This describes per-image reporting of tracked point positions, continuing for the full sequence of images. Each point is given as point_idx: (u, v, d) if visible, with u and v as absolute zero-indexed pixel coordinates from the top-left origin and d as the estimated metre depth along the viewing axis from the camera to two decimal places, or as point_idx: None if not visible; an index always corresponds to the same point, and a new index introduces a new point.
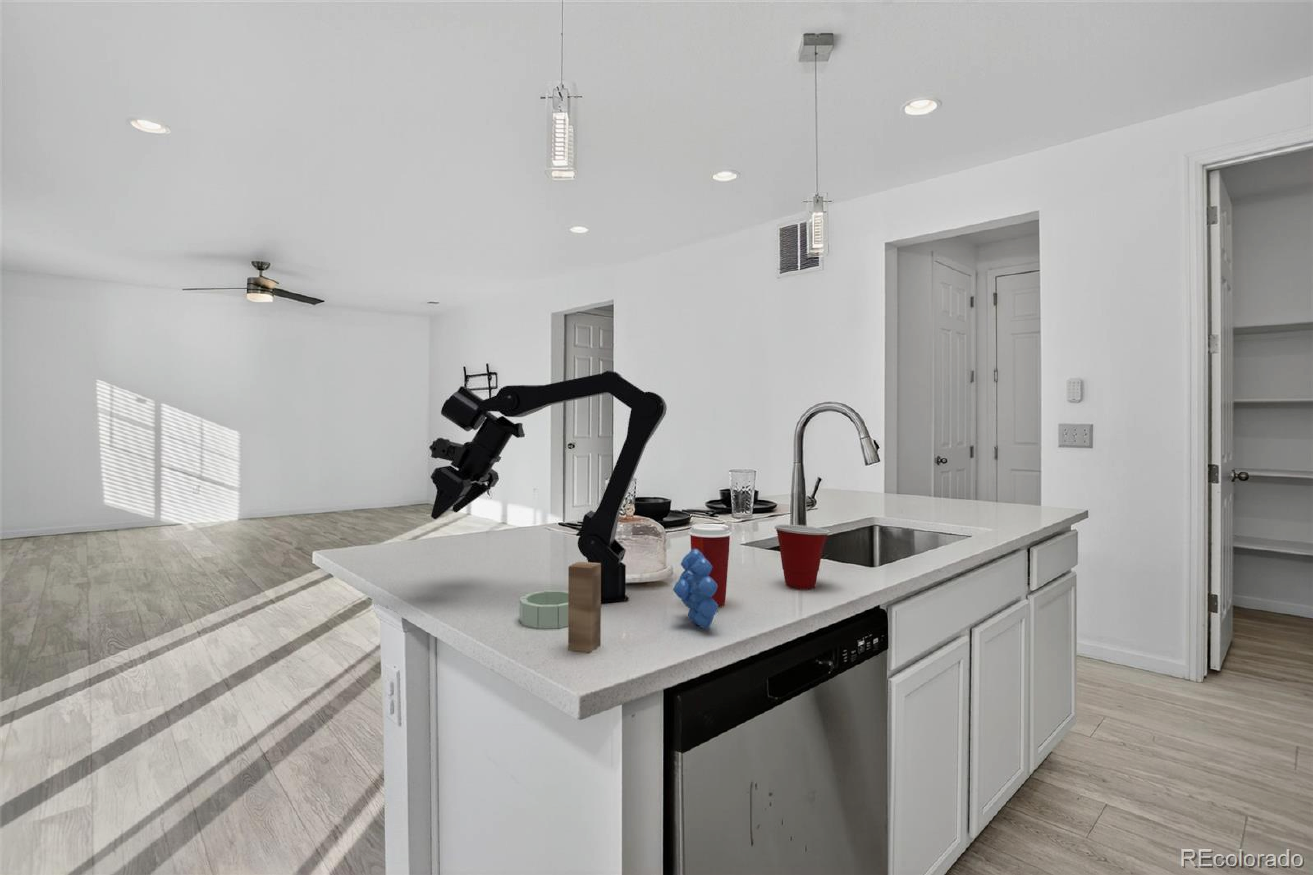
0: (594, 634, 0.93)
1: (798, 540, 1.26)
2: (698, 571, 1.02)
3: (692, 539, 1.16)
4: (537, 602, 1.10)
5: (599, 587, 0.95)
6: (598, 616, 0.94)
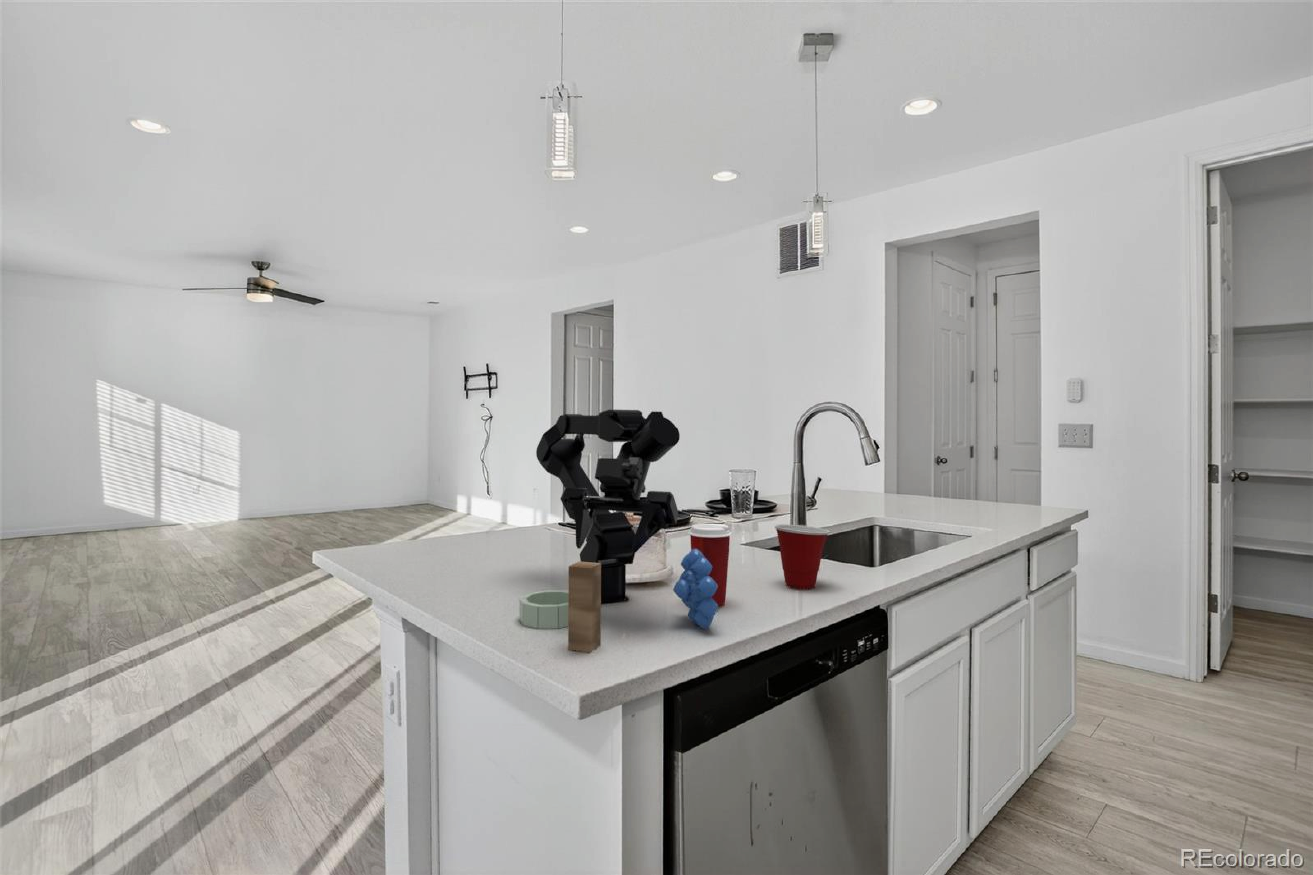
0: (594, 634, 0.93)
1: (798, 540, 1.26)
2: (698, 571, 1.02)
3: (692, 539, 1.16)
4: (537, 602, 1.10)
5: (599, 587, 0.95)
6: (598, 616, 0.94)
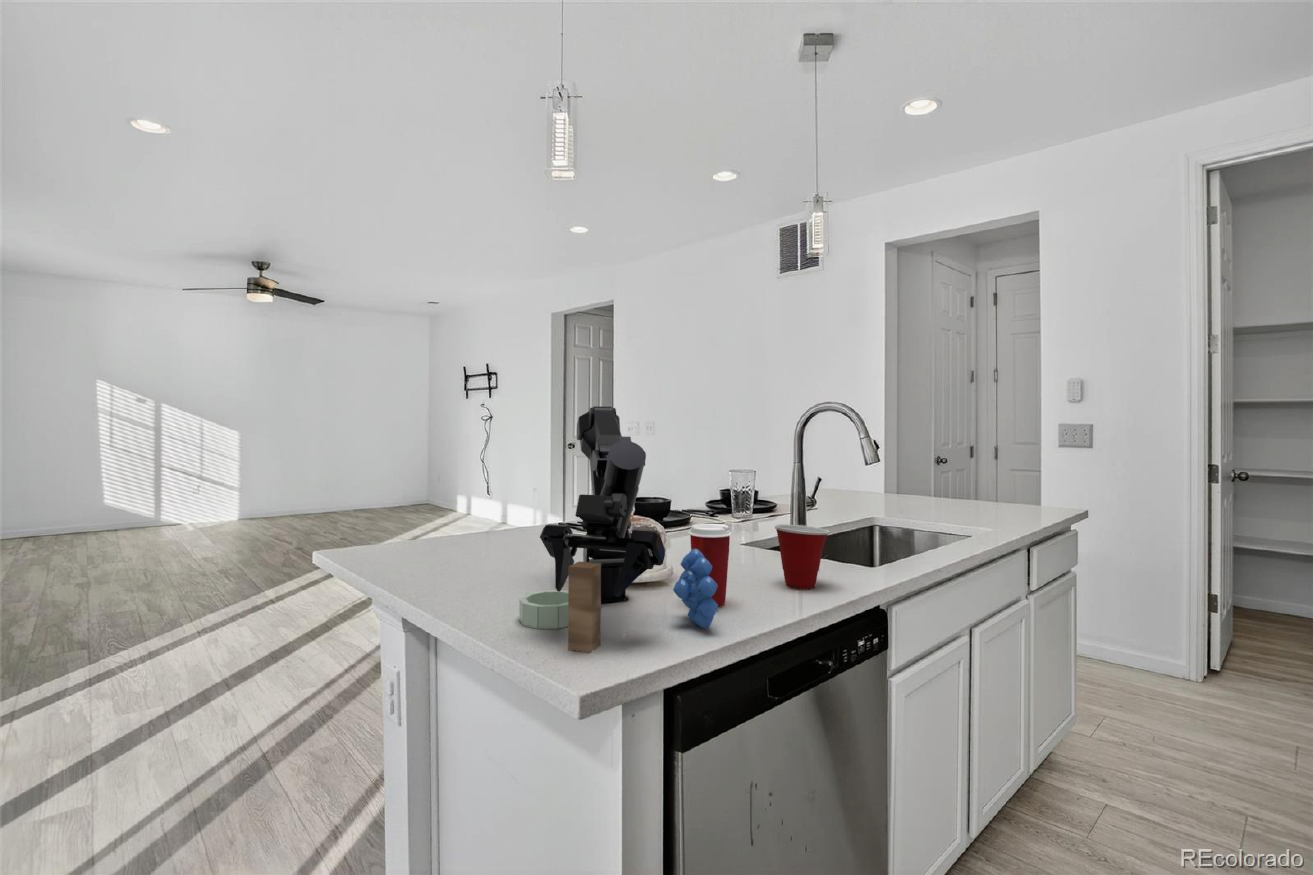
0: (594, 634, 0.93)
1: (798, 540, 1.26)
2: (698, 571, 1.02)
3: (692, 539, 1.16)
4: (537, 602, 1.10)
5: (599, 587, 0.95)
6: (598, 616, 0.94)
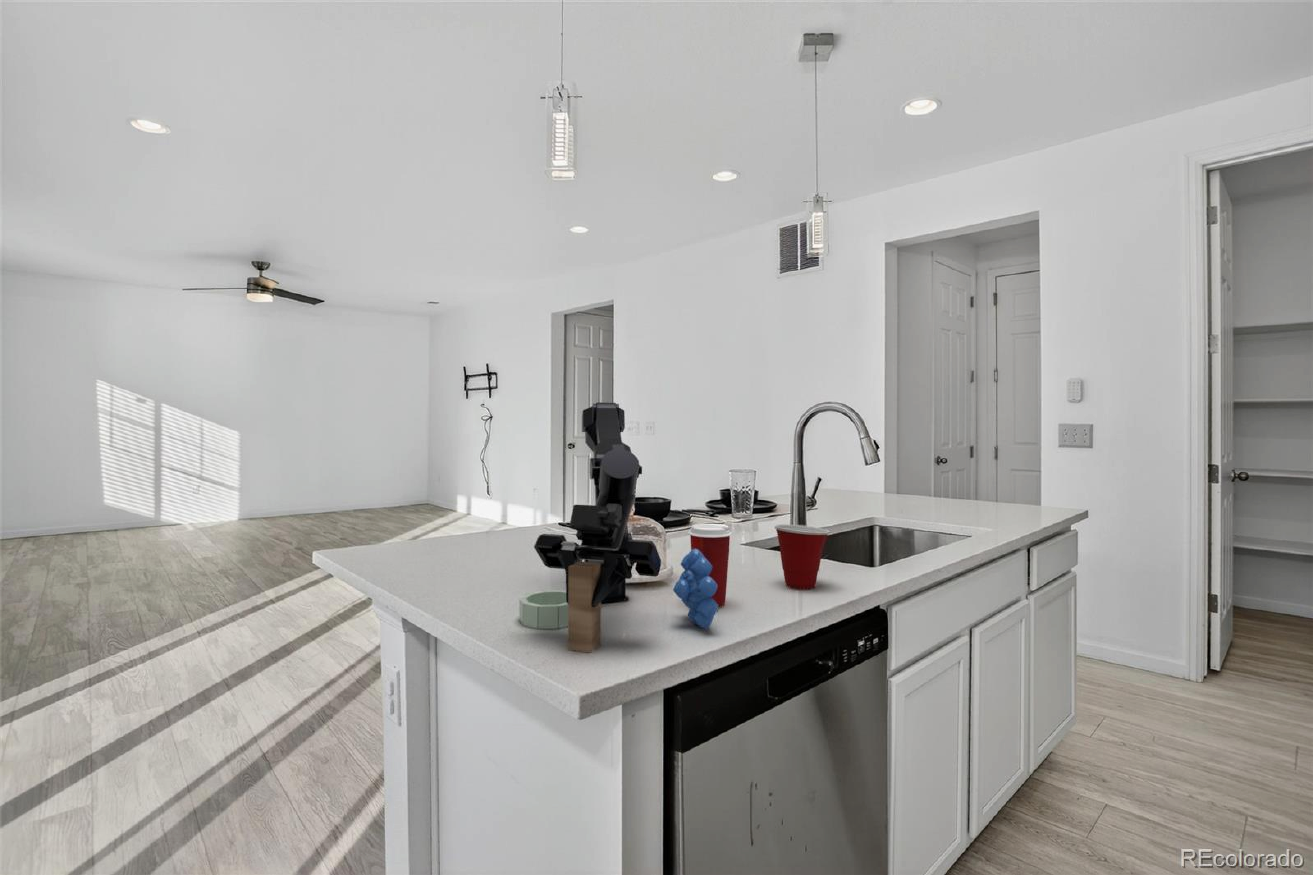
0: (594, 634, 0.93)
1: (798, 540, 1.26)
2: (698, 571, 1.02)
3: (692, 539, 1.16)
4: (537, 602, 1.10)
5: None
6: (598, 616, 0.94)
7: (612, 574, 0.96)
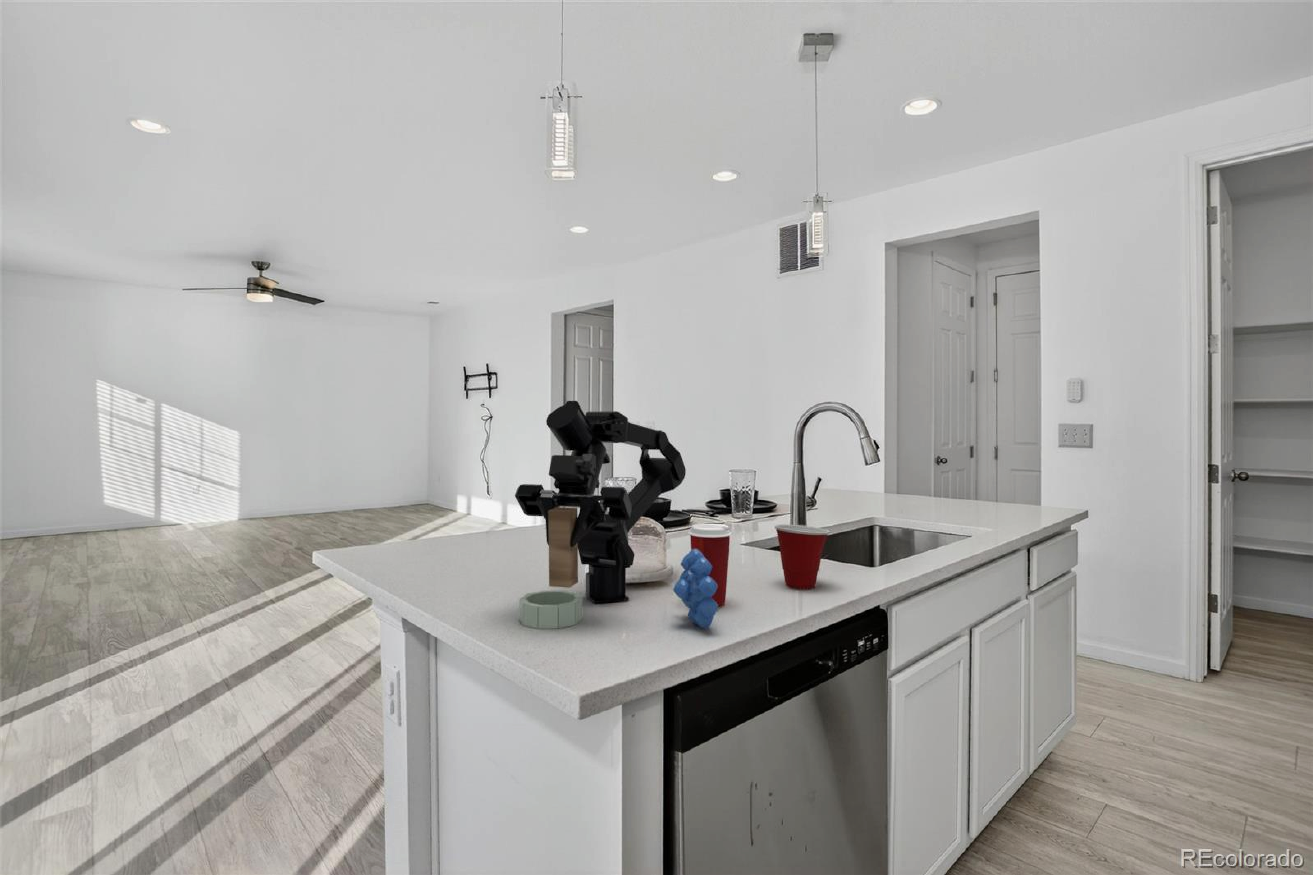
0: (572, 571, 1.03)
1: (798, 540, 1.26)
2: (698, 571, 1.02)
3: (692, 539, 1.16)
4: (537, 602, 1.10)
5: None
6: (575, 555, 1.04)
7: (588, 518, 1.06)
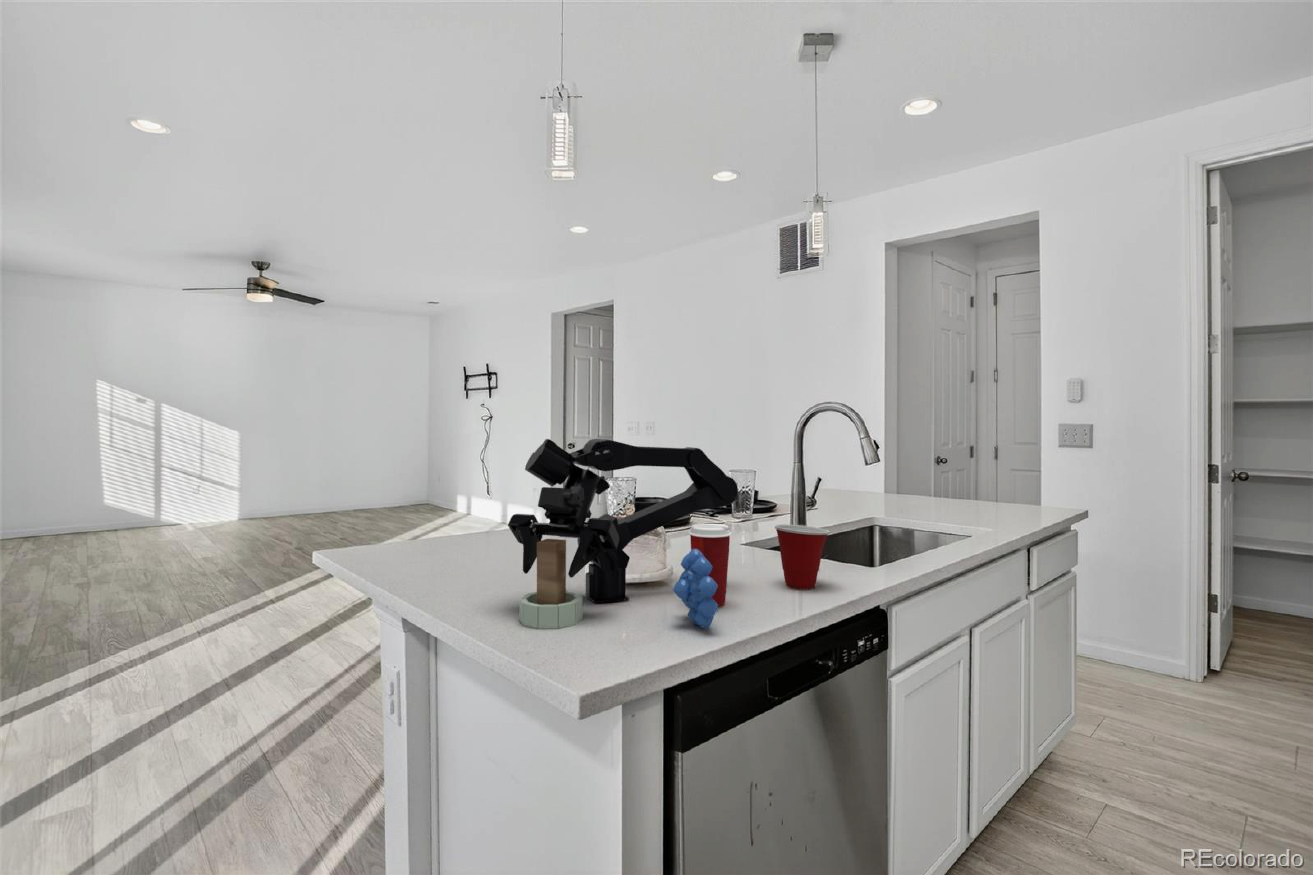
0: (559, 602, 1.07)
1: (798, 540, 1.26)
2: (698, 571, 1.02)
3: (692, 539, 1.16)
4: None
5: (564, 560, 1.08)
6: (563, 586, 1.08)
7: (587, 549, 1.08)
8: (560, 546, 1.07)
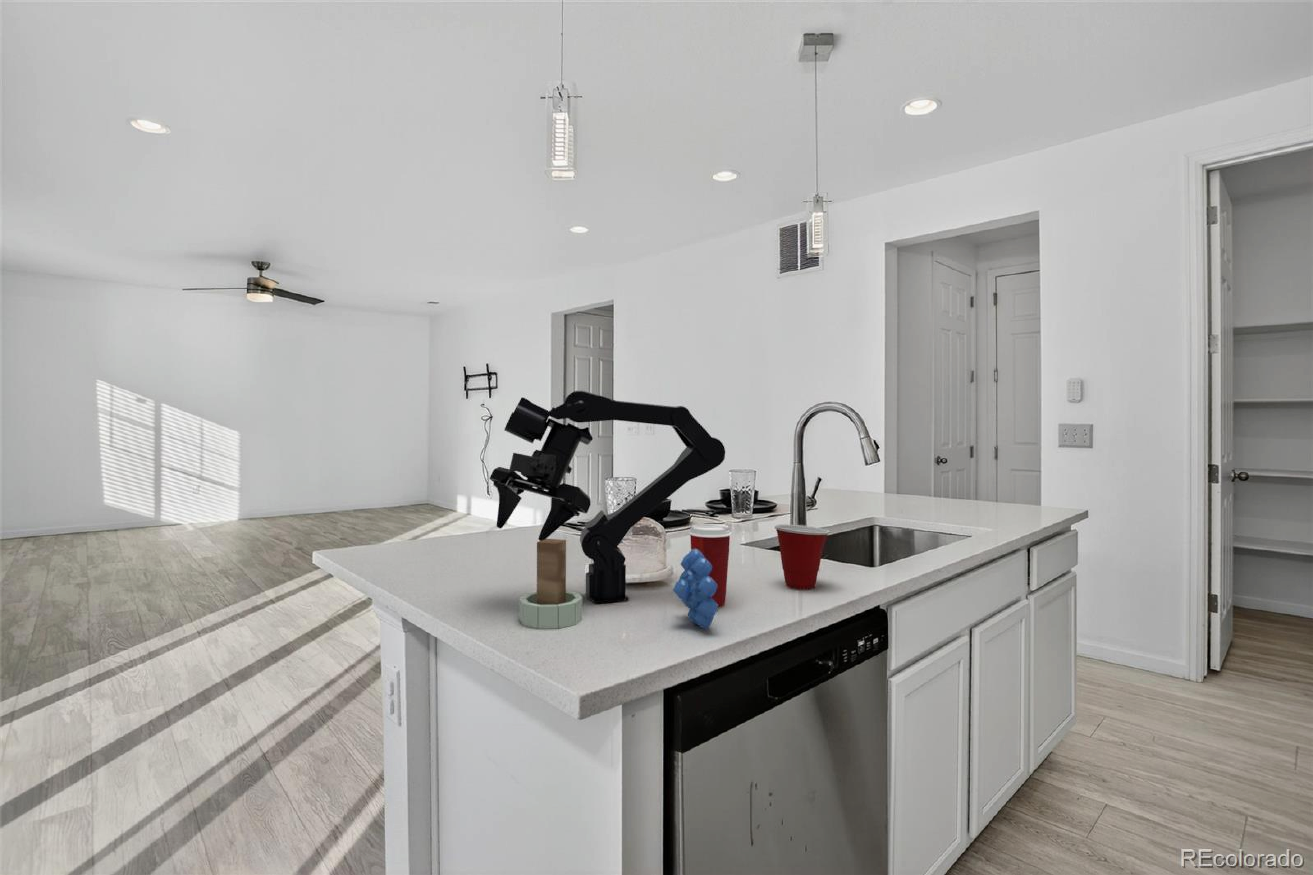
0: (559, 602, 1.07)
1: (798, 540, 1.26)
2: (698, 571, 1.02)
3: (692, 539, 1.16)
4: None
5: (564, 560, 1.08)
6: (563, 586, 1.08)
7: (560, 513, 1.12)
8: (560, 546, 1.07)
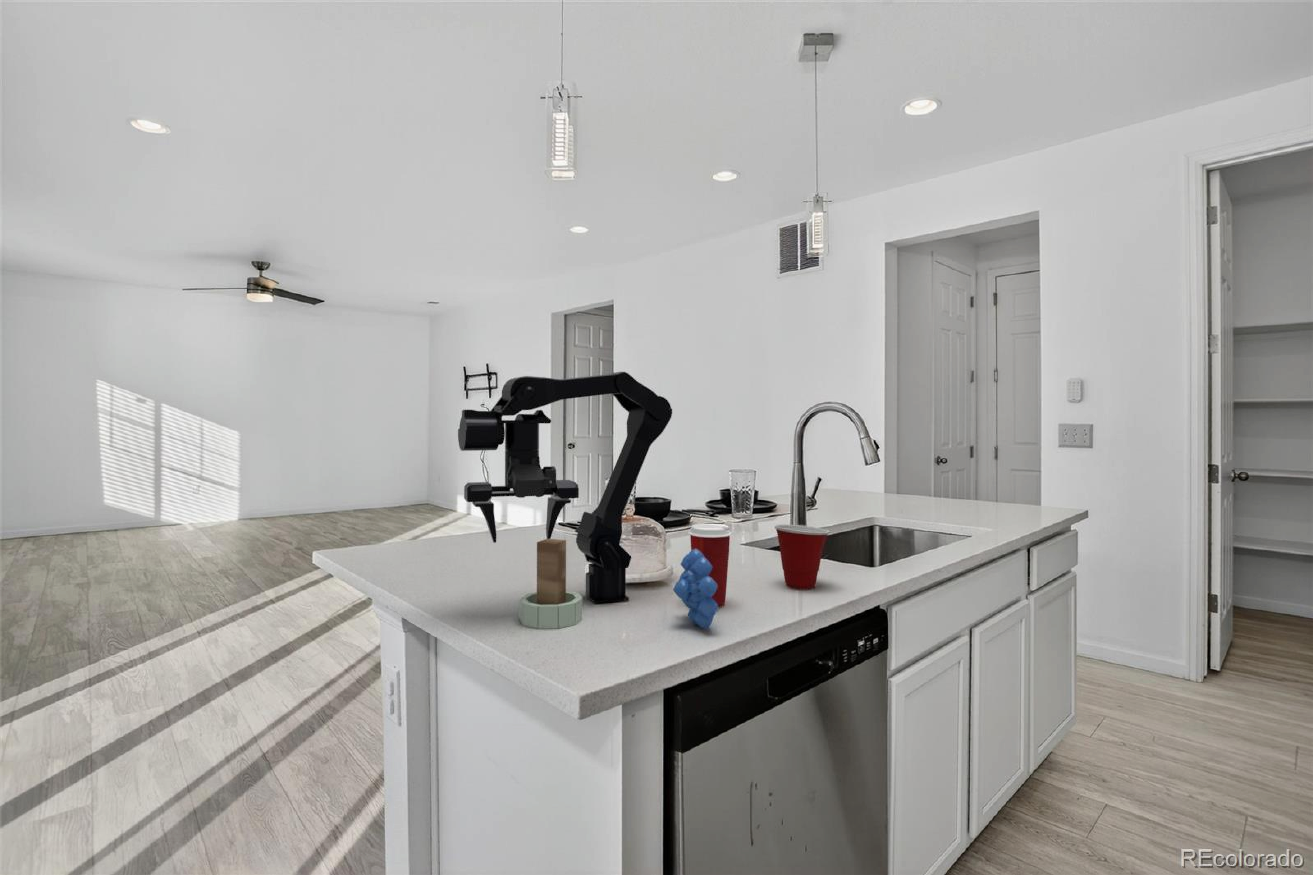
0: (559, 602, 1.07)
1: (798, 540, 1.26)
2: (698, 571, 1.02)
3: (692, 539, 1.16)
4: None
5: (564, 560, 1.08)
6: (563, 586, 1.08)
7: None
8: (560, 546, 1.07)
